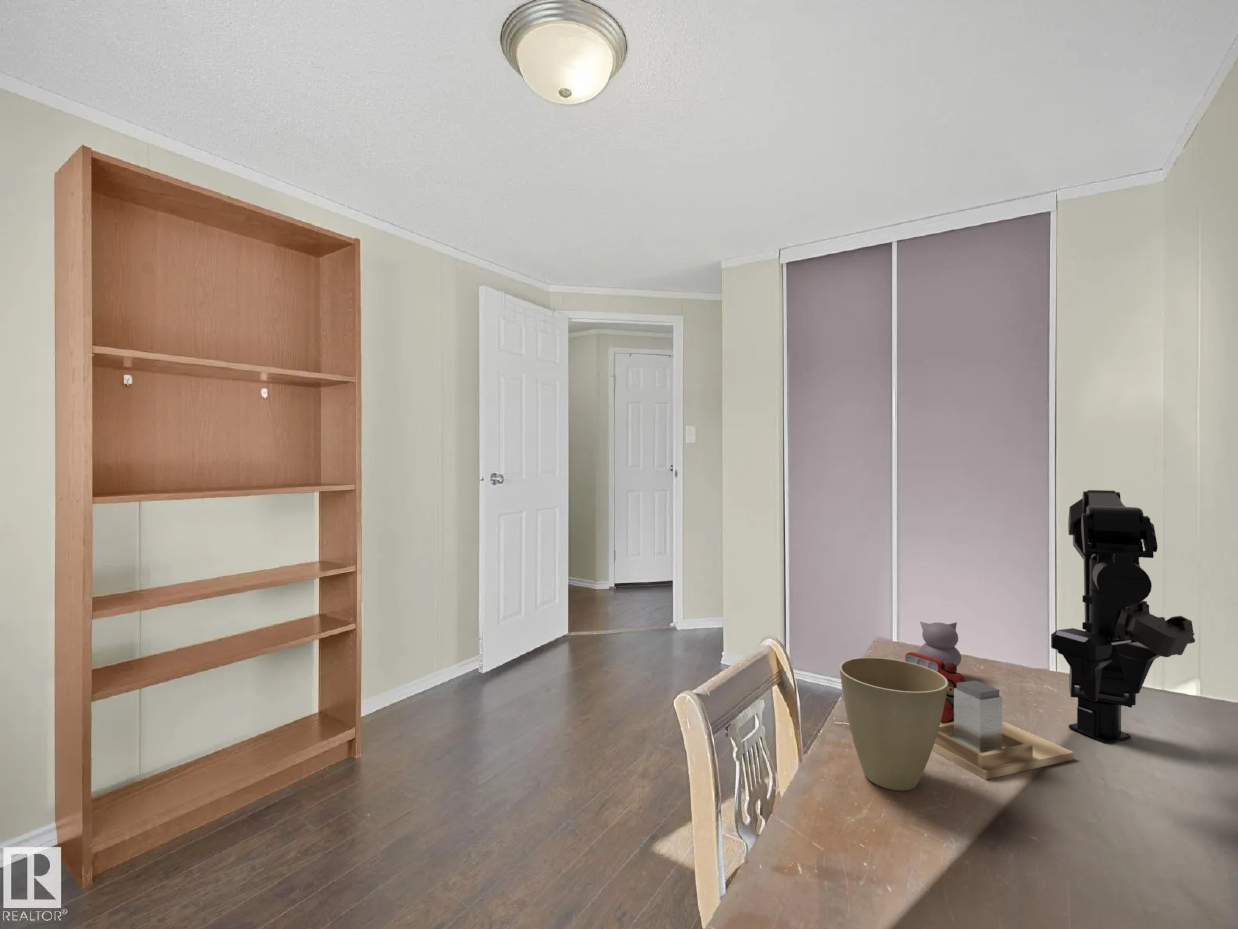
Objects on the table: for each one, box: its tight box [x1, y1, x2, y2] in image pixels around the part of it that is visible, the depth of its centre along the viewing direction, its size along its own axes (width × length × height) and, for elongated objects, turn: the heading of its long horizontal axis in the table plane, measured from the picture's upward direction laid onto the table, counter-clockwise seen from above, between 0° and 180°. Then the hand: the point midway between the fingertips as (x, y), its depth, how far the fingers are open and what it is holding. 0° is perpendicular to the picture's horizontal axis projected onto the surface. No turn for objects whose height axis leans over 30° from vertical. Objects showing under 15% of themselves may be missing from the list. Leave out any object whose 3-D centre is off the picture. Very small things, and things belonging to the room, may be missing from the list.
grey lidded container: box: [953, 680, 1003, 753], centre depth 97 cm, size 4×5×10 cm
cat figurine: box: [918, 621, 962, 679], centre depth 134 cm, size 8×8×12 cm
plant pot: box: [839, 656, 948, 792], centre depth 90 cm, size 15×15×16 cm
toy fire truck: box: [904, 651, 967, 723], centre depth 114 cm, size 7×12×10 cm, turn 32°
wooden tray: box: [932, 721, 1075, 781], centre depth 99 cm, size 19×12×3 cm, turn 109°
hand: (1113, 696), depth 89 cm, fingers open, 9 cm apart
